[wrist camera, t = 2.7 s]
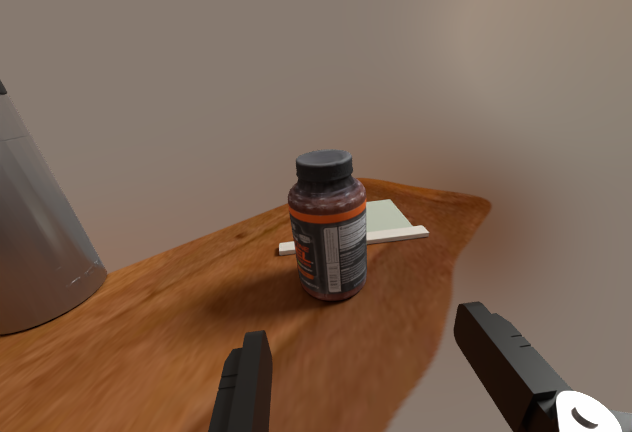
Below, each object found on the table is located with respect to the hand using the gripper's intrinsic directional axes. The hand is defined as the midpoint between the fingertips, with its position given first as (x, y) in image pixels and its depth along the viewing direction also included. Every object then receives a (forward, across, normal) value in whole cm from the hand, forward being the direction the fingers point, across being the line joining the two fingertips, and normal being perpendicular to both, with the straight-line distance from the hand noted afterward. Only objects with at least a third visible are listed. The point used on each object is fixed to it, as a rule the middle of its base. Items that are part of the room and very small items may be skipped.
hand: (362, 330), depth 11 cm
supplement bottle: (+11, 0, +7) cm, 13 cm away
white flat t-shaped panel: (+20, -3, +7) cm, 21 cm away
